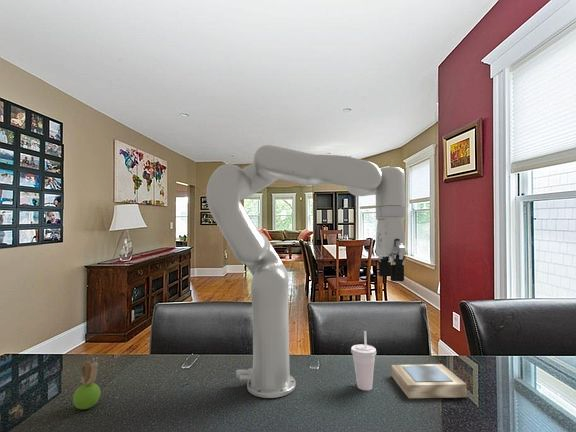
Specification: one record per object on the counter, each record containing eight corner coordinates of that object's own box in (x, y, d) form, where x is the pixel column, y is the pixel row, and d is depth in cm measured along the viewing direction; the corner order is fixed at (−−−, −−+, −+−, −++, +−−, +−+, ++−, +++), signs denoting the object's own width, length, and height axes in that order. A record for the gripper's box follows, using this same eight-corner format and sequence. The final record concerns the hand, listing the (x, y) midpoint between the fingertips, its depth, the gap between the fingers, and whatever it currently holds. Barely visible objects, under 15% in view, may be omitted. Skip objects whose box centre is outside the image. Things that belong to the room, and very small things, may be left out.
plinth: (408, 398, 75) (408, 384, 75) (391, 376, 87) (391, 364, 87) (467, 397, 75) (466, 383, 75) (442, 375, 87) (441, 363, 87)
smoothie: (378, 394, 77) (376, 335, 78) (351, 392, 78) (350, 334, 79) (376, 382, 83) (374, 328, 84) (351, 380, 84) (350, 327, 85)
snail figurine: (81, 418, 68) (83, 361, 69) (67, 410, 72) (69, 356, 73) (107, 406, 73) (108, 353, 74) (92, 399, 76) (94, 349, 77)
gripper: (367, 216, 93) (368, 274, 92) (386, 211, 75) (387, 283, 74) (393, 216, 93) (393, 274, 92) (417, 211, 75) (418, 283, 74)
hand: (390, 278), depth 83 cm, fingers open, 9 cm apart
